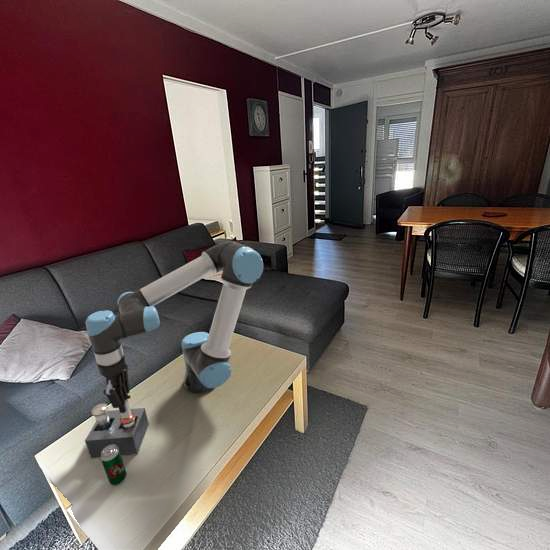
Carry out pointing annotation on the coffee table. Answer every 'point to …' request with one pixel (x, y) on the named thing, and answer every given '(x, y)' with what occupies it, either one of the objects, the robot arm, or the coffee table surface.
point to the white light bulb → (101, 416)
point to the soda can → (113, 464)
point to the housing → (118, 434)
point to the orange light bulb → (128, 421)
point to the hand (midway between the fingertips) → (126, 416)
